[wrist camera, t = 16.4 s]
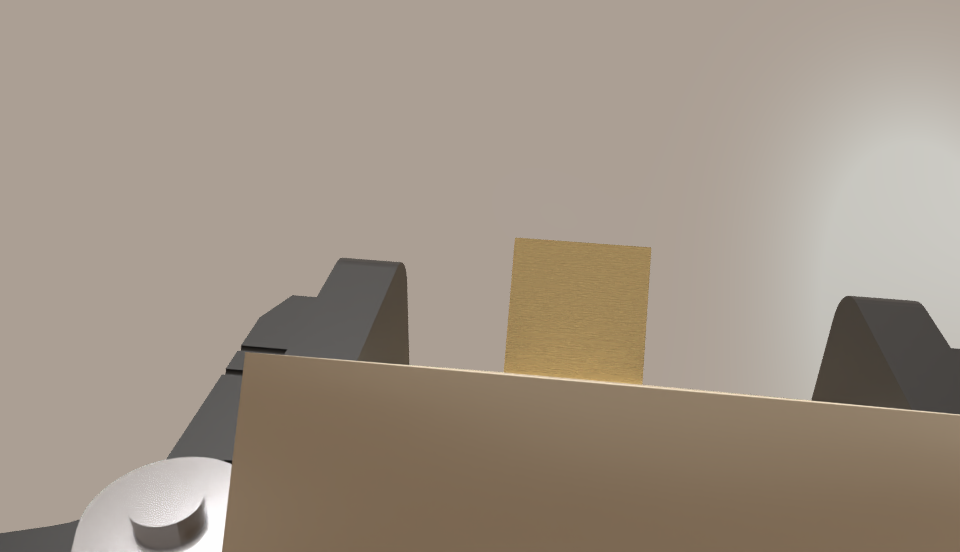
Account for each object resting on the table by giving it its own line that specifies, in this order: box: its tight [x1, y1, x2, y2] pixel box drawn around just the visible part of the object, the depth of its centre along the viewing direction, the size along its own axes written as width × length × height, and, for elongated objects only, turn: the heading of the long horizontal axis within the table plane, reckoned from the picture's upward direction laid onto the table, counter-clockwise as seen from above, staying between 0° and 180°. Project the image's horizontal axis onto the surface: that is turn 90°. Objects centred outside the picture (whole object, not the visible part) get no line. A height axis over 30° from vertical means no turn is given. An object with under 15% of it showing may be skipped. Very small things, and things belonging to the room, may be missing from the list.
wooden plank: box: [222, 352, 960, 552], centre depth 19 cm, size 28×5×2 cm, turn 175°
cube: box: [504, 238, 651, 385], centre depth 30 cm, size 4×4×4 cm
